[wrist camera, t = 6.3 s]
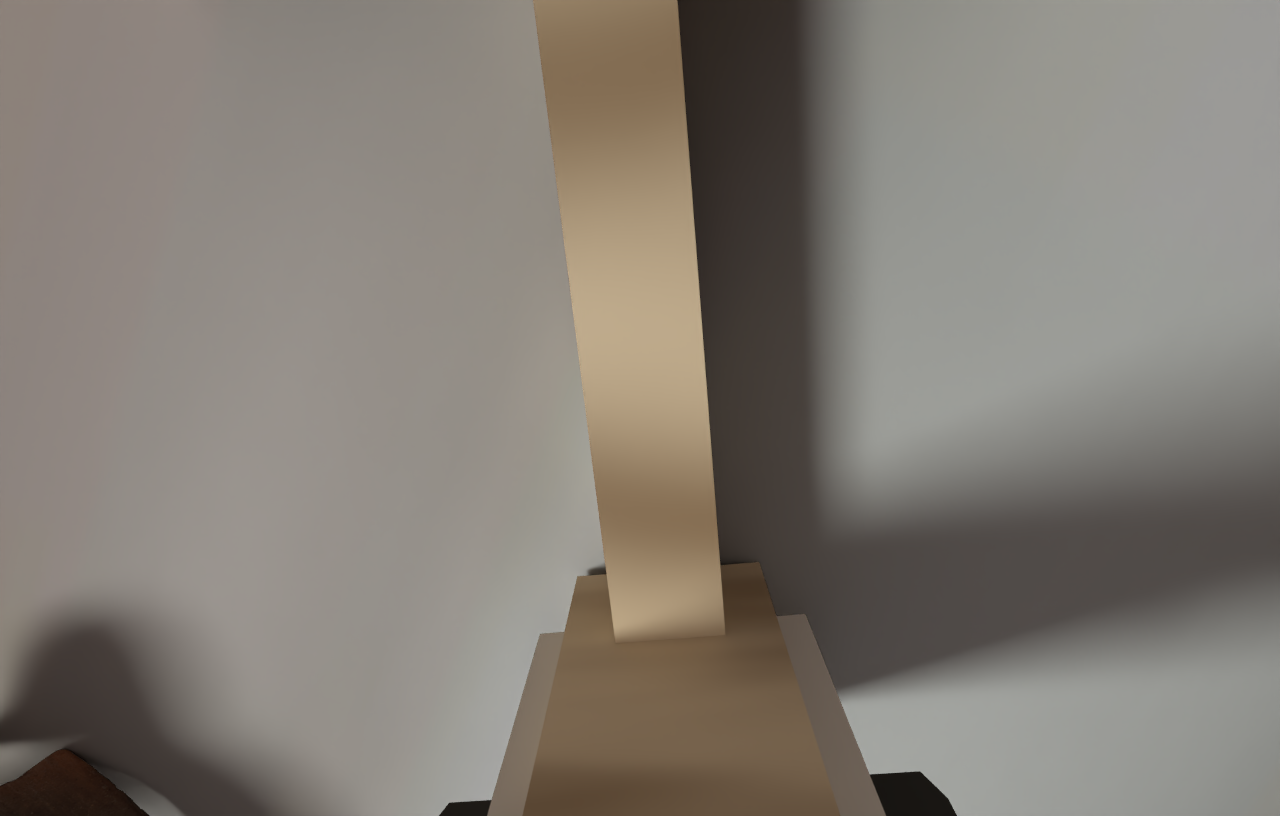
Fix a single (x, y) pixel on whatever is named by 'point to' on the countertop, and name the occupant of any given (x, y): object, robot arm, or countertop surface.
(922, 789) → the robot arm
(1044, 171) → the countertop surface
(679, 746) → the wooden mallet
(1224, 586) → the countertop surface
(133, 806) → the pottery mug
